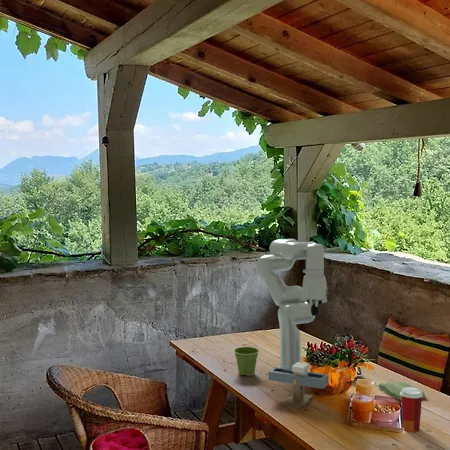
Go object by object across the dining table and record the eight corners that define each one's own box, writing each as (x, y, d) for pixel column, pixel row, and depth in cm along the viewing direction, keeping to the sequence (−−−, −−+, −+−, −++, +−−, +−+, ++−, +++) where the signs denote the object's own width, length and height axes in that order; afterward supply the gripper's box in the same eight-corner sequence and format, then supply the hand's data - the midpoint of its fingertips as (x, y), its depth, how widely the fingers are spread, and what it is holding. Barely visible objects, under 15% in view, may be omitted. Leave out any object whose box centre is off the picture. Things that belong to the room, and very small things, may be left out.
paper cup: (417, 424, 209) (418, 386, 208) (425, 433, 201) (426, 394, 200) (396, 424, 209) (396, 387, 208) (403, 434, 201) (404, 394, 200)
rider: (291, 377, 230) (291, 366, 229) (297, 373, 235) (297, 361, 235) (303, 379, 227) (303, 368, 227) (309, 374, 233) (309, 363, 233)
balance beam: (266, 401, 233) (266, 372, 232) (277, 391, 243) (277, 364, 242) (320, 411, 222) (320, 381, 221) (330, 400, 232) (330, 372, 232)
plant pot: (229, 376, 264) (229, 352, 263) (240, 368, 274) (240, 345, 273) (252, 380, 258) (252, 355, 258) (263, 372, 269) (263, 348, 268)
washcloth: (402, 385, 250) (402, 378, 250) (427, 400, 233) (427, 392, 233) (375, 388, 247) (376, 381, 247) (399, 403, 230) (399, 395, 230)
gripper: (295, 273, 247) (295, 315, 248) (328, 275, 240) (328, 318, 241) (301, 270, 253) (301, 311, 255) (334, 272, 246) (334, 315, 248)
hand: (314, 315), depth 248 cm, fingers closed
